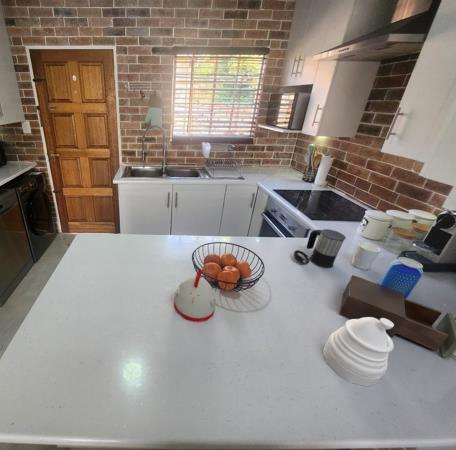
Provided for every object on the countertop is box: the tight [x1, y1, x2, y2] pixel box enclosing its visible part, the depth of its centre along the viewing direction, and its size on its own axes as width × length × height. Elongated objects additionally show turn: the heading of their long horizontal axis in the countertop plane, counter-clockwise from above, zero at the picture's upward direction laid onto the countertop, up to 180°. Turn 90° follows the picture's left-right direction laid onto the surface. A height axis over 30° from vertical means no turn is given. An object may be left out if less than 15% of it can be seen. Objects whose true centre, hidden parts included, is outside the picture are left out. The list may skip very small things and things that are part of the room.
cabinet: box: [338, 274, 406, 339], centre depth 84 cm, size 14×15×9 cm
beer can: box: [378, 256, 424, 299], centre depth 90 cm, size 8×8×16 cm
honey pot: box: [322, 317, 395, 388], centre depth 65 cm, size 13×13×18 cm
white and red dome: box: [173, 269, 216, 323], centre depth 82 cm, size 14×14×15 cm
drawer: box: [395, 298, 456, 359], centre depth 75 cm, size 19×13×7 cm
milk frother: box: [293, 228, 347, 269], centre depth 110 cm, size 14×16×15 cm
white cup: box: [350, 241, 381, 271], centre depth 110 cm, size 8×8×10 cm
